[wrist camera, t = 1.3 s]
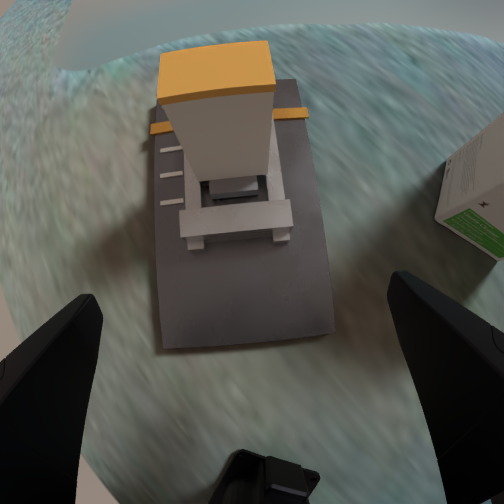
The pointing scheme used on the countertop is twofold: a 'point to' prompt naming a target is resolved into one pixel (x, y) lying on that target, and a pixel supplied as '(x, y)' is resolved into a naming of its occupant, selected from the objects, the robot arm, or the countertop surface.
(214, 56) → the fader
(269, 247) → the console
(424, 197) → the countertop surface
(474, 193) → the skincare box
